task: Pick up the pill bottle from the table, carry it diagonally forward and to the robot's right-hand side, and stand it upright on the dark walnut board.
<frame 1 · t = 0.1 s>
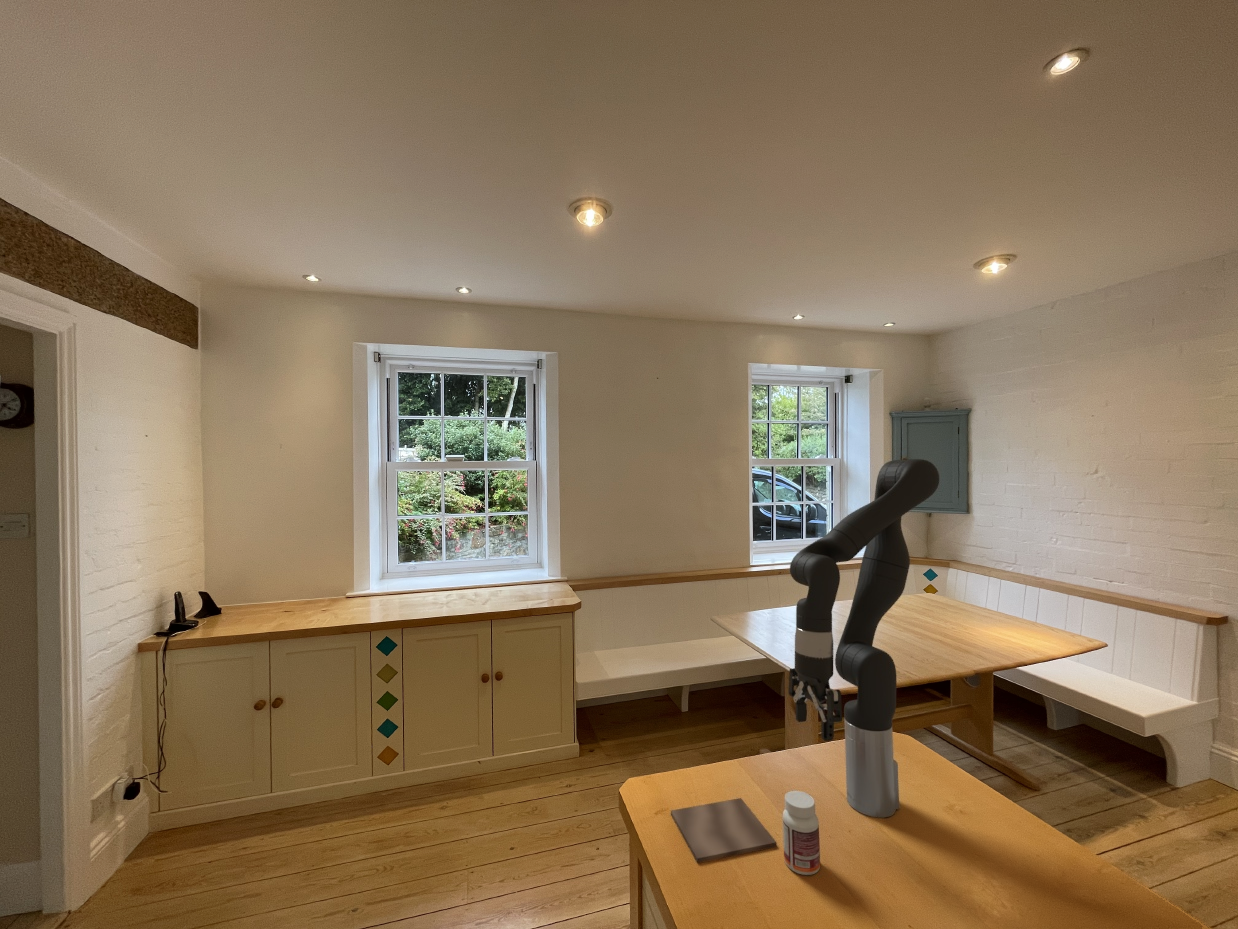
hand: (813, 730, 104), 17 cm above the table, tool pointing down, fingers open, 8 cm apart
pill bottle: (801, 865, 91), on the table
walnut board: (721, 829, 100), on the table
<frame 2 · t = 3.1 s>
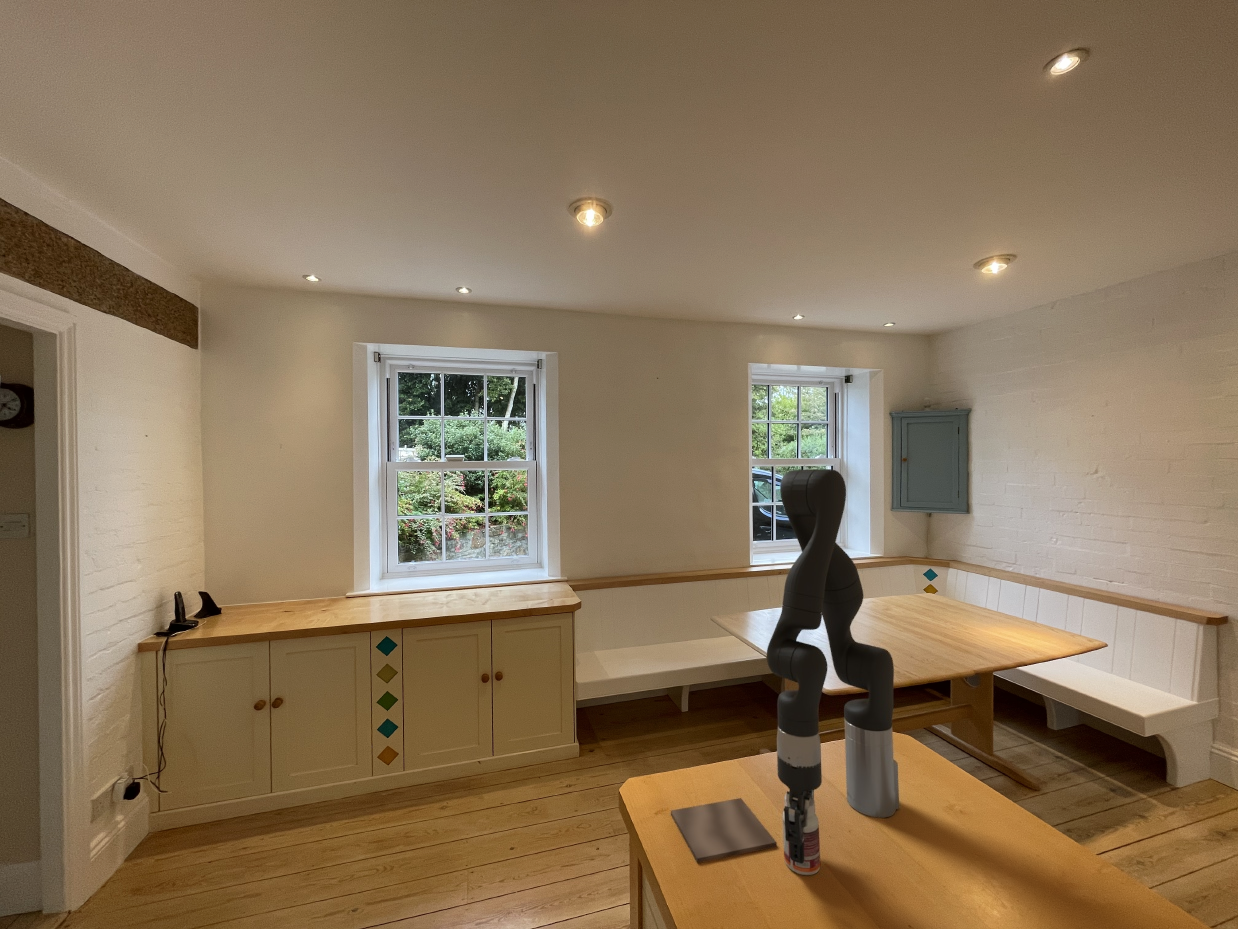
hand: (801, 848, 91), 3 cm above the table, tool pointing down, fingers closed on pill bottle, 6 cm apart
pill bottle: (801, 865, 91), on the table, touching gripper
when the fingers open (5 cm above the table, at t = 9.8 s): pill bottle drops 1 cm, resting on walnut board.
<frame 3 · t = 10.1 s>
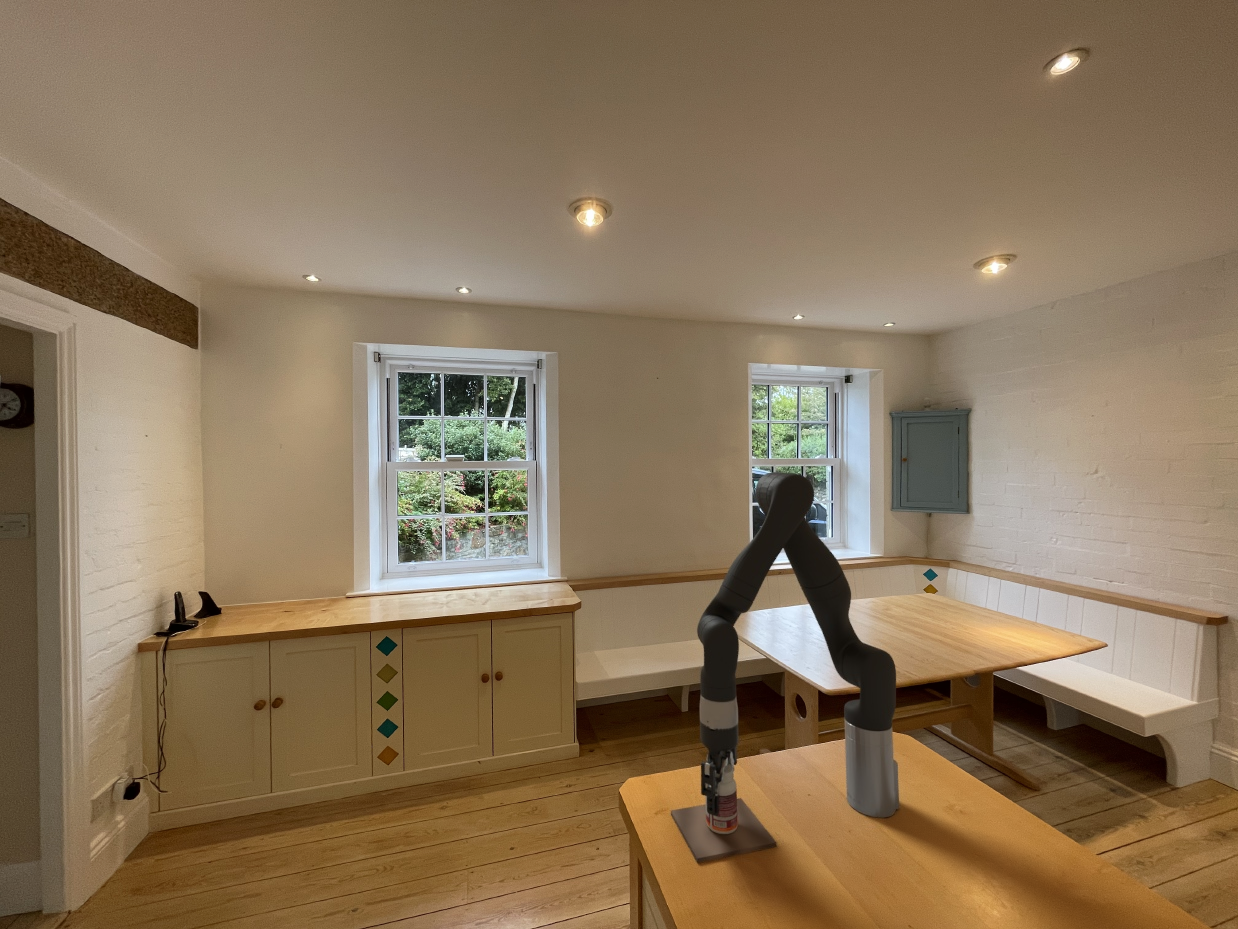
hand: (720, 802, 100), 5 cm above the table, tool pointing down, fingers open, 8 cm apart
pill bottle: (721, 826, 100), point 1 cm above the table, touching walnut board
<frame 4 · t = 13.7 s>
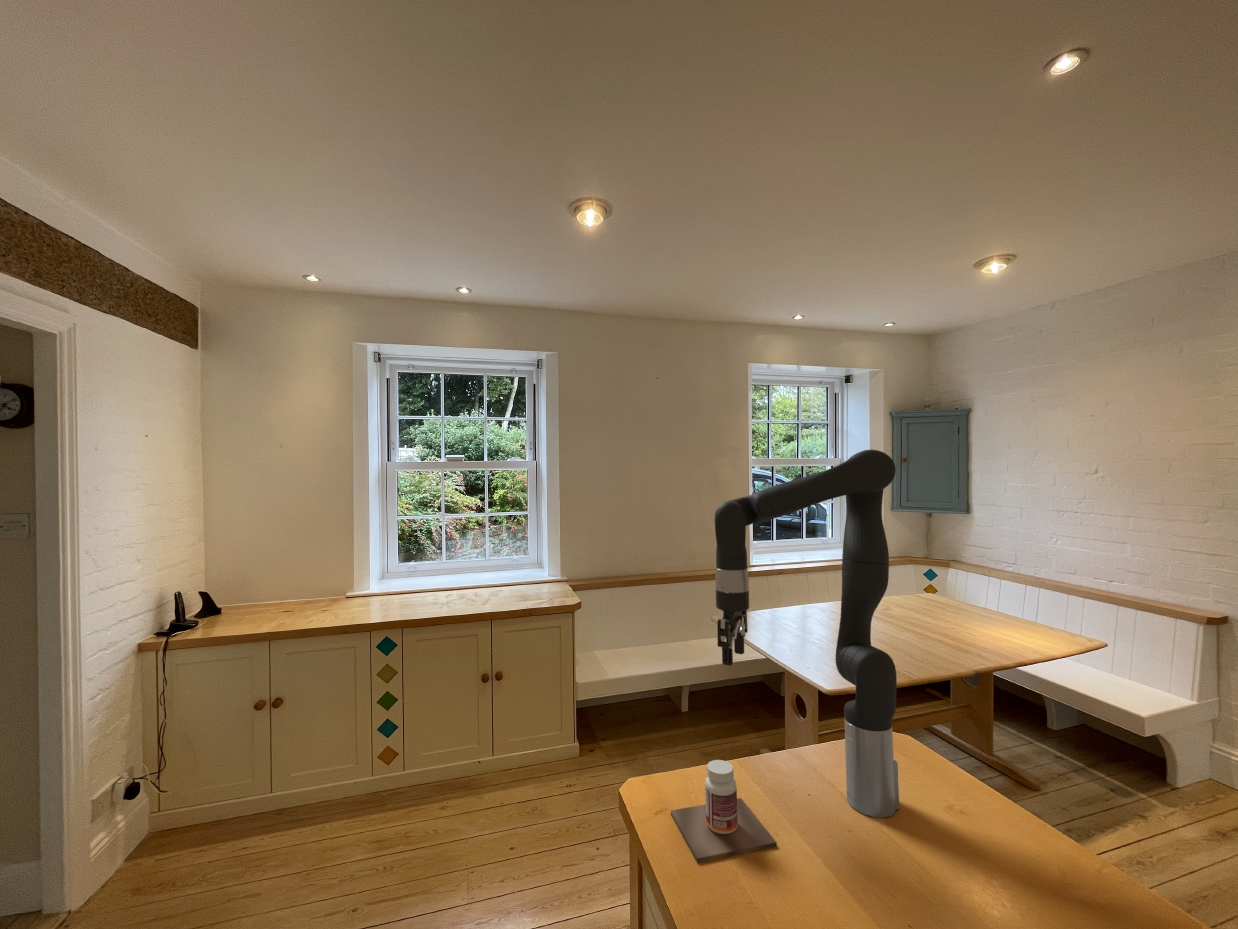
hand: (733, 659, 116), 28 cm above the table, tool pointing down, fingers open, 8 cm apart
nothing on the table moved.
at the end: pill bottle inside the target area on the walnut board (0.2 cm from its centre), point 0.6 cm above the walnut board's base; pill bottle tilted 0°; the gripper is holding nothing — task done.
